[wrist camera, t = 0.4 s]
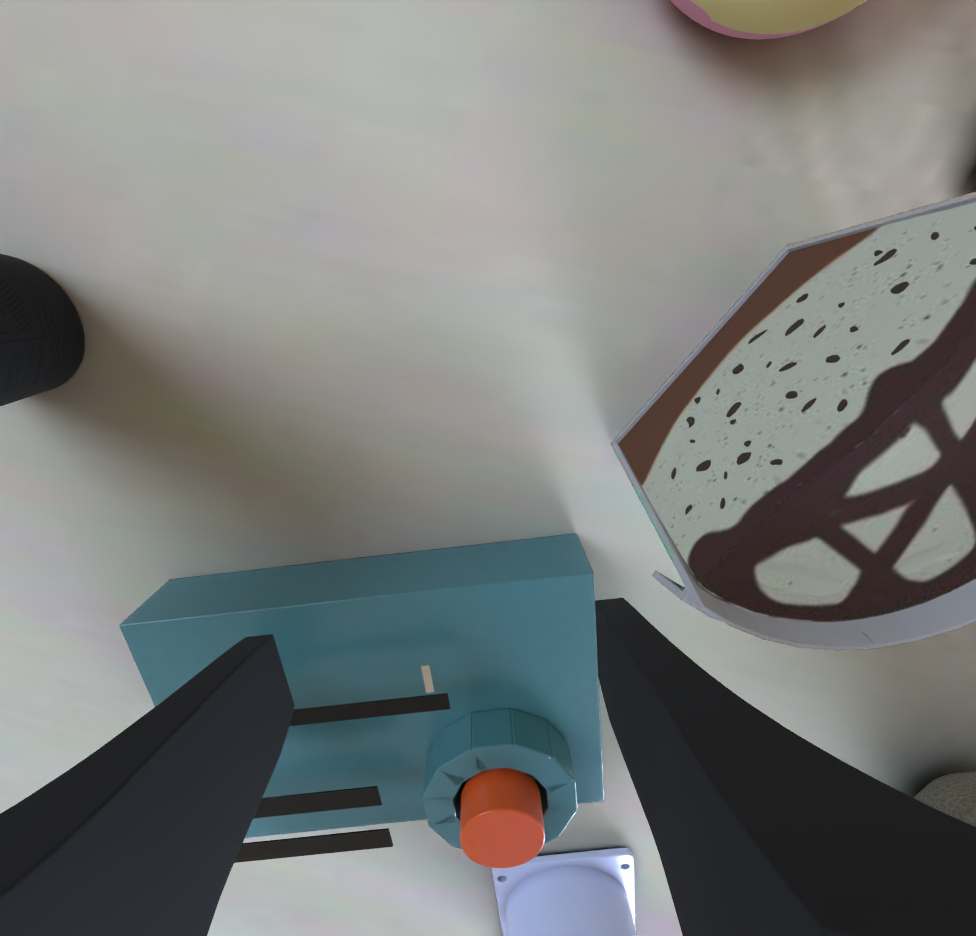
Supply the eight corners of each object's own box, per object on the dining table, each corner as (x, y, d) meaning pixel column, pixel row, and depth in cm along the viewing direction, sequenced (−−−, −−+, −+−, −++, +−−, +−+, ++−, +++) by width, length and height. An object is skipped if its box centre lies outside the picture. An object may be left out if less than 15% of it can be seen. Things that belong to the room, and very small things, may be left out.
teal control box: (589, 741, 25) (615, 844, 20) (245, 777, 25) (192, 887, 20) (576, 532, 21) (605, 600, 16) (169, 578, 21) (81, 658, 16)
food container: (689, 551, 21) (858, 751, 12) (586, 471, 20) (683, 626, 11) (923, 320, 18) (1403, 344, 9) (819, 208, 17) (1253, 93, 7)
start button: (542, 818, 20) (548, 864, 18) (466, 826, 20) (465, 873, 18) (536, 761, 19) (541, 805, 17) (455, 770, 19) (453, 815, 17)
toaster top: (473, 836, 20) (473, 838, 20) (221, 862, 20) (220, 864, 20) (442, 662, 17) (442, 663, 17) (146, 694, 17) (145, 696, 17)
